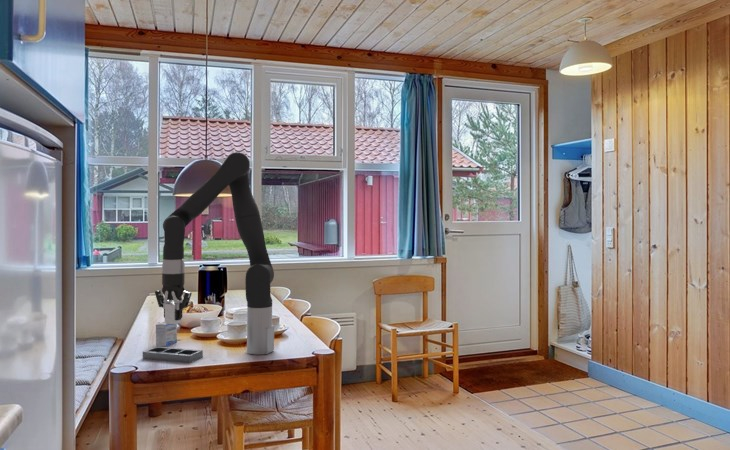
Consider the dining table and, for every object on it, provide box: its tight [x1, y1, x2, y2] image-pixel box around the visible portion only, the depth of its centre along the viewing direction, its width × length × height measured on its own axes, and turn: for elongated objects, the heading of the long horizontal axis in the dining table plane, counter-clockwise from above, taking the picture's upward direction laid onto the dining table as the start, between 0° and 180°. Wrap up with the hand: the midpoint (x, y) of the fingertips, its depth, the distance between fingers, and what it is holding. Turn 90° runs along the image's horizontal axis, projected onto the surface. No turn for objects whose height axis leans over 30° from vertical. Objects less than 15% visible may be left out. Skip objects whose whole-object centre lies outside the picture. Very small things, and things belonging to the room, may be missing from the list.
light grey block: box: [164, 301, 182, 325], centre depth 184 cm, size 4×4×7 cm
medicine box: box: [155, 321, 178, 347], centre depth 203 cm, size 8×4×9 cm, turn 168°
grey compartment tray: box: [142, 346, 204, 364], centre depth 184 cm, size 19×8×2 cm, turn 76°
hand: (172, 319), depth 184 cm, fingers closed on light grey block, 4 cm apart
